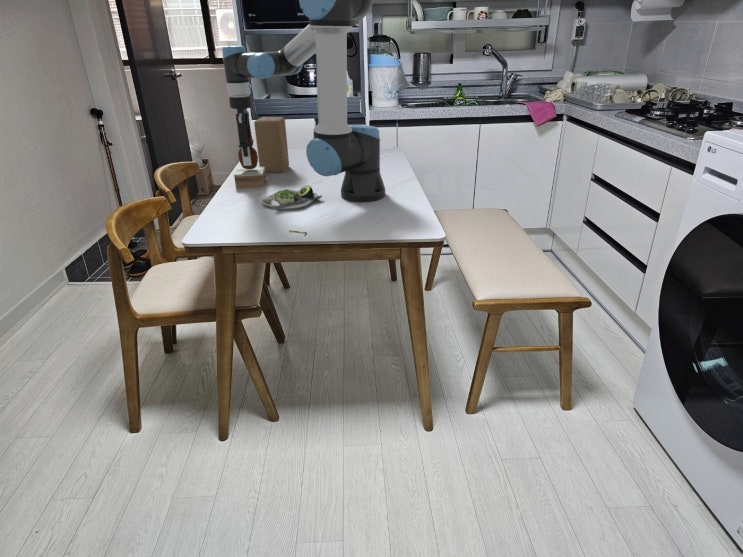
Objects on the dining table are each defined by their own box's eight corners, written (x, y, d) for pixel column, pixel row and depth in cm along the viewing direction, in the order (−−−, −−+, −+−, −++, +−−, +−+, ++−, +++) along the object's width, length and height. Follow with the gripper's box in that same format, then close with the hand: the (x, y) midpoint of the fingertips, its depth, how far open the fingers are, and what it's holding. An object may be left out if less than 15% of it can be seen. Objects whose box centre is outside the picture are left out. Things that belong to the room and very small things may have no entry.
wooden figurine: (237, 169, 176) (230, 126, 169) (247, 165, 181) (241, 124, 174) (251, 171, 173) (245, 128, 167) (262, 167, 178) (256, 125, 171)
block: (289, 166, 202) (285, 116, 193) (283, 172, 193) (278, 120, 184) (266, 166, 203) (260, 116, 194) (259, 172, 194) (253, 120, 185)
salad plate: (296, 217, 148) (295, 202, 146) (249, 210, 155) (247, 196, 153) (327, 198, 164) (326, 185, 162) (283, 193, 171) (281, 180, 168)
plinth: (263, 187, 176) (262, 173, 174) (236, 188, 175) (233, 174, 173) (266, 179, 185) (265, 166, 182) (240, 180, 184) (238, 167, 182)
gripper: (247, 99, 157) (256, 169, 168) (254, 92, 175) (262, 156, 185) (223, 99, 157) (234, 170, 167) (233, 92, 174) (242, 156, 185)
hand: (248, 162), depth 176 cm, fingers closed on wooden figurine, 7 cm apart
